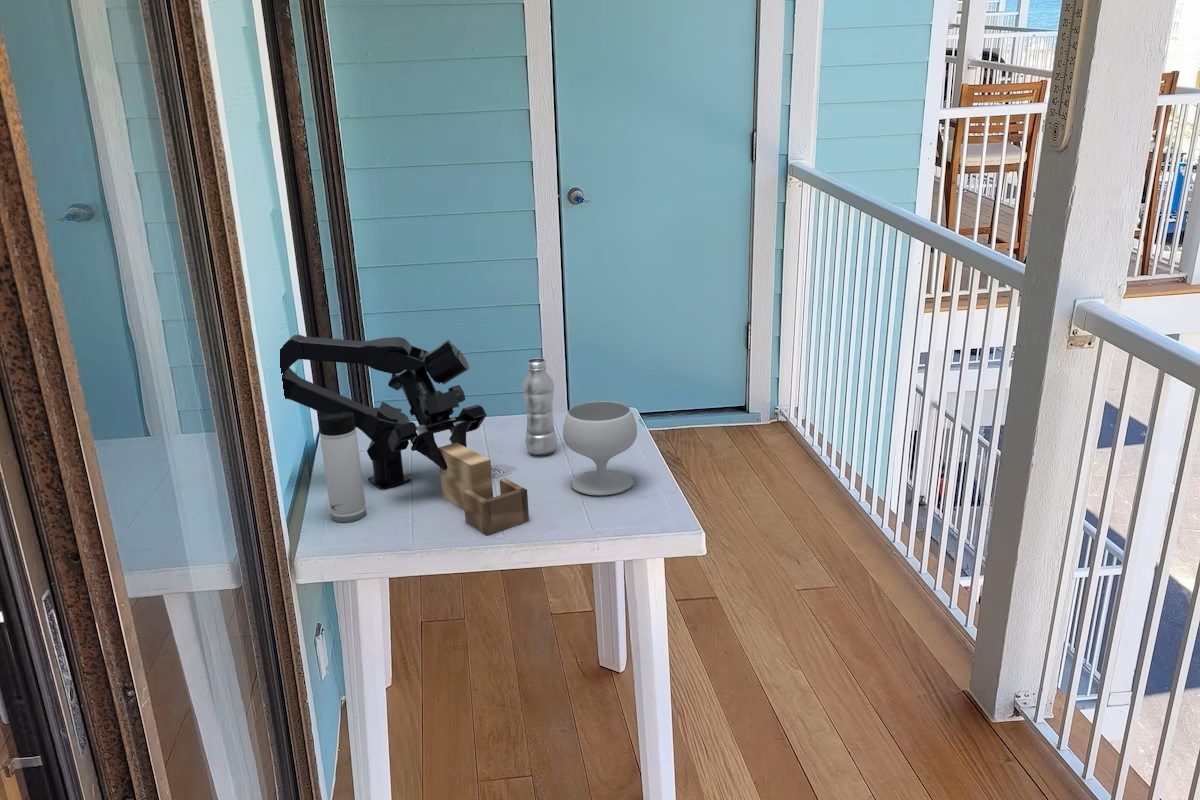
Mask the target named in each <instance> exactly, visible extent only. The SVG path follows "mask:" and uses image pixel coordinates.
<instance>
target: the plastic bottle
mask: <svg viewBox="0 0 1200 800" xmlns="http://www.w3.org/2000/svg"><path fill="white" fill-rule="evenodd" d="M526 362H527V372H528V374H527V375H526V377H525V378H524V380H523V382H522V393H523V397H524V403H525V411H526V432H525V439H524V440H525V441H524V442H525V446H526V450H527V451H528V452H529V453H530V454H532V455H536V456H537V455H538V456H540V455H547V454H551V453H553V452H554V451H555V450H556V448H557V445H558V443H557V441H558V438H557V433H556V430H555V423H554V422H555V421H554V416H553V414H554V413H553V409H554V408H553V404H554V403H553V402H554V390H555V382H554V379H552V377H551V376H550V375H549V373H548V372H547V371H546V370H547V363H546V359H545V358H541V357H540V358H538V357H536V358H535V357H534V358H530V359H528V360H527V361H526Z"/></svg>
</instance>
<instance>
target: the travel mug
mask: <svg viewBox="0 0 1200 800" xmlns="http://www.w3.org/2000/svg"><path fill="white" fill-rule="evenodd" d="M317 420H318V427H319V436H320V437H319V438H320V446H321V452H322V462H323V467H324V472H325V473H324V474H325V482H326V489H327V496H328V502H329V503H328V505H329V511H330V517H331V519H332V520H333V521H334V522H338V523H351V522H356V521H359V520H360V519H362V518H364V517H365V516H366V514H367V507H366V497H365V489H364V483H363V474H362V468H361V459H360V458H361V457H360V452H359V451H360V450H359V443H358V435H357V427H355V424H354V423H355V420H354V413H353V412H341V413H335V414H330V413H328V414H322V415H321V414H320V415H318V417H317Z"/></svg>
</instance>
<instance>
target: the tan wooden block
mask: <svg viewBox="0 0 1200 800" xmlns="http://www.w3.org/2000/svg"><path fill="white" fill-rule="evenodd" d="M438 448H439V450H440V452H441V454H442V456H443V458H444V460H445V462H446V464H447V470H443V469H442V468H440V467H439V474H440V484H441V493H442V495H441V496H442V499H443V498H444V500H447V501H448V502H449V503H452V504H453V505H454V506H456V507H458V508H460V509H462V511H465V510H464V499H463V491H465V490H471V491H472V492H474V493H476V494H477V495H479V496H481V497H483V498H484V499H486V500H487V499H490V498H493V497H494V489H493V487H494V486H493V477H492V464H491V463H492V461H491V459H490V458H488V457H486V456H484V455H482V454H481V453H479V452H476V451H474V450H472V449H470V448H469V447H468V446H467V447H465V446H463V445H461V444H459V443H453V444H452V443H450V444H446V445H443V446H440V447H439V446H438Z"/></svg>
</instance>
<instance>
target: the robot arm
mask: <svg viewBox="0 0 1200 800" xmlns="http://www.w3.org/2000/svg"><path fill="white" fill-rule="evenodd" d="M282 346H283V347H282V348H281V349H280V368H281V374H282V373H283V375H282V381H283V389H284V396H285V399H284V400H290V401H292V402H295V403H297V404H300V405H302V406H305V407H307V408H309V409H312V410H313V411H317V412H319V413H322V415H324V414H328V413H330V414H335V413H341V412H353V413H354V420H355V423H354V424H355V427H356V429H358V430H360V431H361V432H363V433H364V434H365V435H366V436H367V437H368V438H369V440H371V441H370V443H369V445H368V448H367V450H366V454H367V455H368V456H369V457H368V458H369V459H370V461H371V462H372V463H371V464H372V469H373V470H372V471H373V475H372V476H369V477H367V481H368V482H369V483H371V484H373V485H374V486H375V487H377V488H379V489H380V490H385V489H387V488H392V487H394V486H395V487H396V486H399V485H401V484H405V483H408V482H411V480H412V479H411V477H410V476H409V475H406V474H405V473H404V466H403V458H402V451H405V450H406V449H408V446H409V444H410V442H411V444H412V446H411V447H410V450H411V451H412V452H415V451H417V453H420V454H421V455H423V456H425V457H426V458H427V459H429V460H430V461H432V462H433V463H434V464H435V465H437V466H438V467H439V469H440V468H442V469H443V470H447V464H446V462H445V460H444V458H443V456H442V454H441V452H440V450H439V446H438V445H437V442H436V440H435V435H434V434H437V433H440V432H443V431H450V434H451V435H450V437H449V441H450V444H453V443H459V444H461V445H463V446H465V447H467V448H468V445H467V433H469V432H473V431H476V430H477V429H479V428H480V426H481V425H482V423H483V422H484V420H485V419H486V417H487V416H488V414H487V413H486V410H485V408H484V407H483V406H481V405H480V404H475V405H471V406H468V407H464V408H462V409H461V410H460V412H459V414H458V416H454V417H450V416H452V415H453V413H454V409H455V408H459V407H460V403H462V402H464V401H466V395H465V392H464V390H463V388H462V387H461V385H460V384H458V385H454V386H451V387H448V391H447V392H442V391H441V390H437V389H436V386H434V382H435V384H438V385H440V384H442V385H446V384H448V383H449V382H450V381H452V380H454V379H456V378H457V377H459V376H461V375H462V374H463V373H465V372H467V371H469V370H470V366H469V364H468V363H469V362H468V361H467V359H466V358H465V355H464V354H463V352H462V351H461V350H459V349H458V347H456V346H455V345H454V344H453V343H452V342H451V341H450V340H449V339H447V340H446V341H444V342H442V343H441V345H439V346H438V347H436V348H435V349H433V350H431V351H428V350H425V349H422V348H420V347H417V346H414V345H411V344H410V342H409V341H408V340H407V339H406V338H403V337H400V336H393V337H392V336H391V337H381V338H377V339H372V340H352V339H339V338H328V337H327V338H326V337H316V336H315V337H313V336H304V335H302V334H294V335H292V336H290V338H288V340H286V342H285V343H284V344H283V345H282ZM298 360H305V361H318V362H330V363H341V364H343V363H344V364H353V365H354V364H357V365H358V364H359V365H362V366H366V367H367V368H368V367H369V368H370V369H373V370H376V371H379V372H383V373H387V374H392V375H391V378H390V380H389V382H388V384H387V386H388V387H390V388H391V389H393V390H395V391H399V390H402V392H403V393H404V396H405V397H406V400H407V401H408V404H409V406H410V409H409V413H410V416H411V417H412V416H415V419H416V421H417V423H418V425H416V423H415V422H413V421H410V420H409V417H408V415H407V414H406V413H404V412H402V411H403V409H402V408H396V407H394V406H391V405H390V404H388V403H387V402H385V401H382V402H381V403H380V405H379V407H375V406H374V407H372V406H367V405H365V404H363V403H360V402H358V401H355V400H353V399H350V398H349V397H345V396H343V395H341V394H339V393H337V392H334V391H332V390H330V389H328V388H325V387H322V386H320V385H317V384H315V383H313V382H311V381H309V380H306V379H304V378H301V377H300V376H298V374H297V373H296V372H294V370H293V369H291V368H290V367H292V365H294V364H295V363H296V362H297V361H298ZM432 380H433V381H432ZM409 441H410V442H409Z"/></svg>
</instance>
